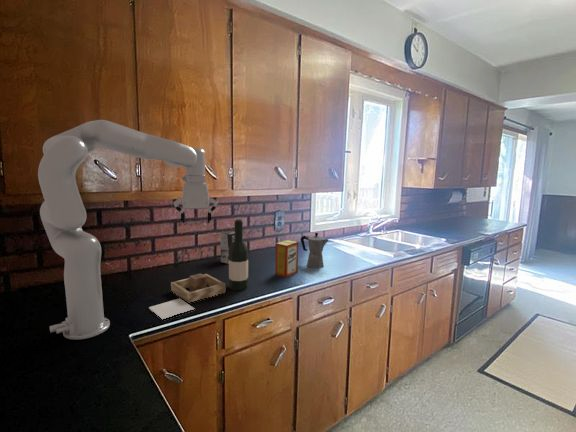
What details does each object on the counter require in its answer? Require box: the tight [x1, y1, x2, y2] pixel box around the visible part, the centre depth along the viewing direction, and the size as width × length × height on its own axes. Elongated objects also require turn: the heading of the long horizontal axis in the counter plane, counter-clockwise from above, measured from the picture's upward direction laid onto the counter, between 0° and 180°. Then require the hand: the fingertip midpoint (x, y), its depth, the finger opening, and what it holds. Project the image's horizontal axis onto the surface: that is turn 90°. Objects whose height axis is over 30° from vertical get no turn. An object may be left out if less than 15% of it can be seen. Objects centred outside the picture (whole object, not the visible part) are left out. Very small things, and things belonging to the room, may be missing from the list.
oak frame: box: [170, 273, 226, 304], centre depth 133 cm, size 16×15×4 cm
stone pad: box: [148, 297, 196, 321], centre depth 117 cm, size 12×12×1 cm
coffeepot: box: [300, 232, 329, 269], centre depth 171 cm, size 15×9×18 cm, turn 67°
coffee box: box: [220, 230, 235, 265], centre depth 174 cm, size 9×6×16 cm
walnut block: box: [189, 273, 208, 292], centre depth 132 cm, size 5×5×7 cm
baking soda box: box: [274, 239, 299, 278], centre depth 157 cm, size 10×6×16 cm
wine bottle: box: [228, 218, 249, 291], centre depth 137 cm, size 8×8×30 cm
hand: (196, 222), depth 129 cm, fingers open, 9 cm apart
